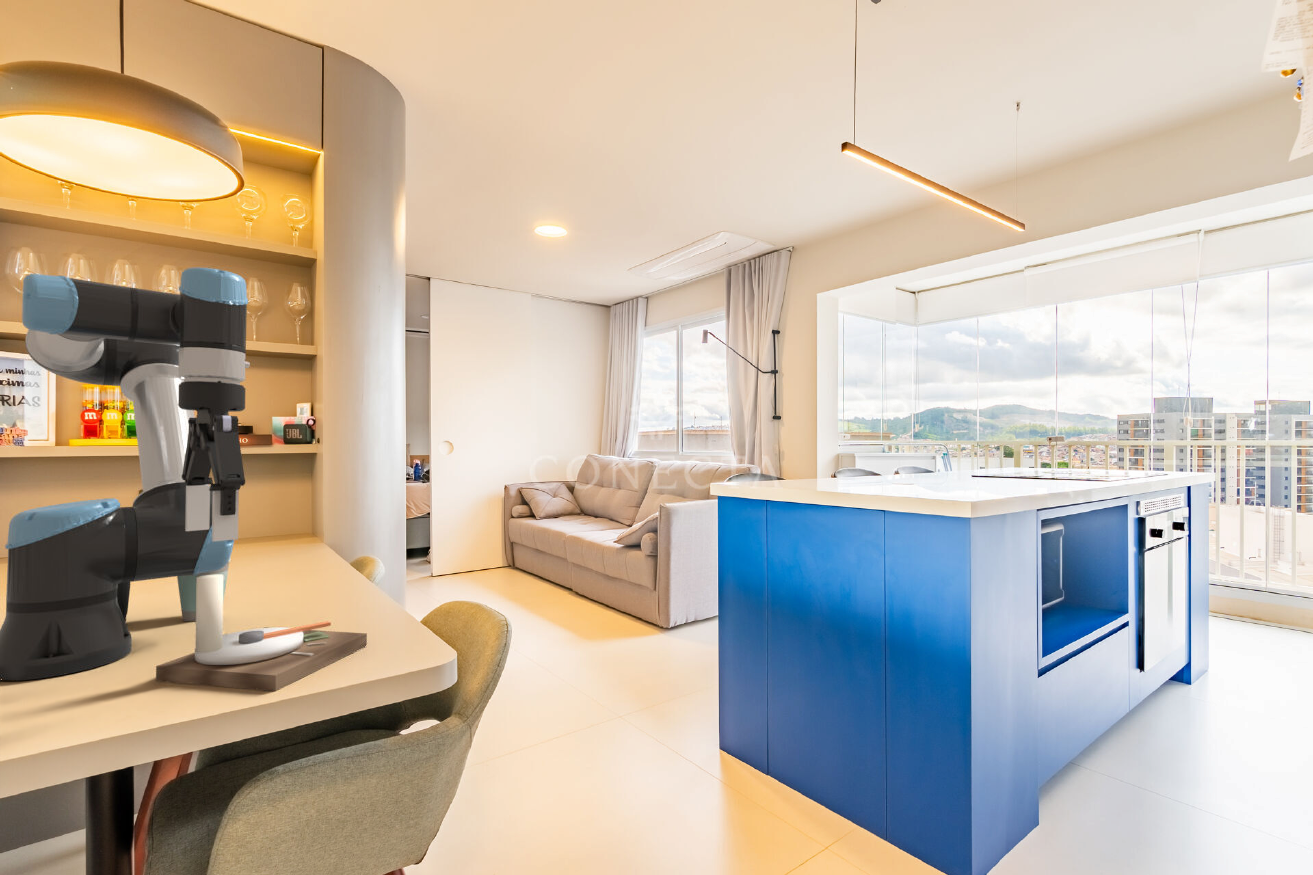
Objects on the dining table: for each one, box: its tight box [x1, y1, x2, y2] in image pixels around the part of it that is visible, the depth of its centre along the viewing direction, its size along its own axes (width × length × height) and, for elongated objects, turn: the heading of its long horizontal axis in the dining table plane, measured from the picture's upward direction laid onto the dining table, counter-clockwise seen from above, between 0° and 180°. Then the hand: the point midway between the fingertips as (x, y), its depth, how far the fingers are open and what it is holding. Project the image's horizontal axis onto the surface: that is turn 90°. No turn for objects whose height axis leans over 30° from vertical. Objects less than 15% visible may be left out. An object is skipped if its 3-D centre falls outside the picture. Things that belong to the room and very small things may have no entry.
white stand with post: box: [194, 574, 332, 665], centre depth 89 cm, size 17×13×11 cm
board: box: [155, 626, 368, 692], centre depth 88 cm, size 18×18×2 cm
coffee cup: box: [176, 555, 232, 622], centre depth 112 cm, size 8×8×12 cm
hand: (210, 535), depth 84 cm, fingers open, 13 cm apart
